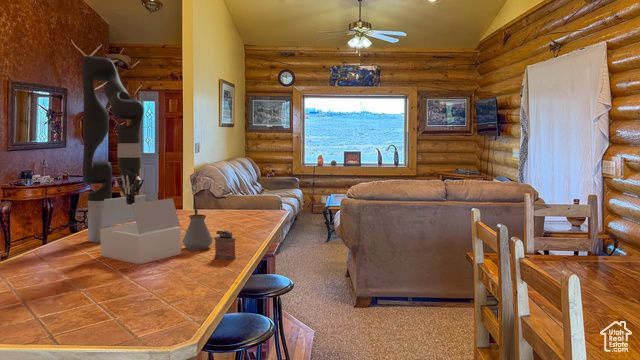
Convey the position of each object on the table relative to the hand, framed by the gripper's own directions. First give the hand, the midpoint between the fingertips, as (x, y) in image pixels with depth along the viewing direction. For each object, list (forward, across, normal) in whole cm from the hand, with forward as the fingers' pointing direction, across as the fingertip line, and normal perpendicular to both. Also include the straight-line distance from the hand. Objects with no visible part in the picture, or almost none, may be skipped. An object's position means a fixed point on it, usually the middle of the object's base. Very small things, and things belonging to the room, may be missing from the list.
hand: (130, 204), depth 171 cm
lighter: (+19, +29, +17) cm, 39 cm away
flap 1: (+3, -9, +3) cm, 10 cm away
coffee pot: (+19, +5, +26) cm, 33 cm away
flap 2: (+4, +9, +3) cm, 11 cm away
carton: (+19, 0, +4) cm, 19 cm away
